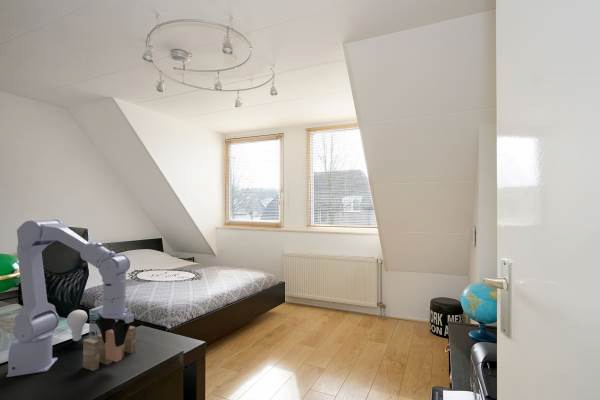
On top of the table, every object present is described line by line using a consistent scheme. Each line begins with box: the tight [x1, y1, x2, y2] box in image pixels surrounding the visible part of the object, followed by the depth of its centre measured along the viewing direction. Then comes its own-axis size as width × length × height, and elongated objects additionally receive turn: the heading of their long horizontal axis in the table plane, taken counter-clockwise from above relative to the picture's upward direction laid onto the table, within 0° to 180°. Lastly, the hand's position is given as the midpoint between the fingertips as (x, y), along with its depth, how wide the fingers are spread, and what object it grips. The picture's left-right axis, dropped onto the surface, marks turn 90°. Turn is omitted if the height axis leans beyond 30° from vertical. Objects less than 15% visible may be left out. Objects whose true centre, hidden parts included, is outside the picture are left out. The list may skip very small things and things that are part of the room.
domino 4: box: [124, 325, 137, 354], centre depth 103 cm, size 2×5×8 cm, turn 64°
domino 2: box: [97, 334, 113, 365], centre depth 96 cm, size 2×5×8 cm, turn 65°
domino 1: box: [82, 337, 100, 371], centre depth 92 cm, size 2×5×8 cm, turn 65°
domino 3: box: [105, 329, 123, 363], centre depth 91 cm, size 2×5×8 cm, turn 65°
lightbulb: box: [66, 309, 89, 342], centre depth 111 cm, size 6×6×11 cm
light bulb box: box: [88, 303, 126, 340], centre depth 117 cm, size 11×7×11 cm, turn 168°
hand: (113, 343), depth 91 cm, fingers closed on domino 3, 5 cm apart
